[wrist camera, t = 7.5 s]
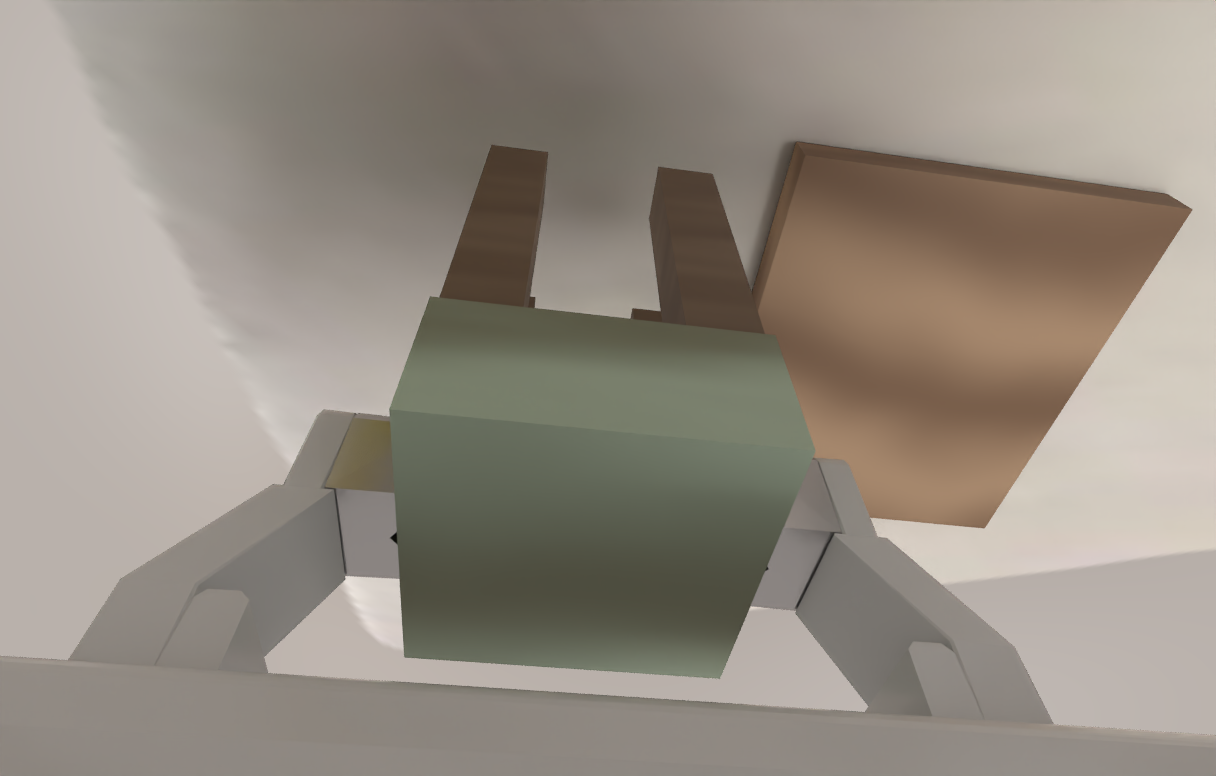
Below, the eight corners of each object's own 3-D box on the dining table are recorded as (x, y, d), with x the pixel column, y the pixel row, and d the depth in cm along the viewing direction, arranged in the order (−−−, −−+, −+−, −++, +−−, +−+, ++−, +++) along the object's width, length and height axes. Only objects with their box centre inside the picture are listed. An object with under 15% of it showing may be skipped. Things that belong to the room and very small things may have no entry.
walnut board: (796, 141, 22) (805, 155, 21) (1167, 194, 23) (1192, 209, 22) (696, 480, 30) (700, 501, 29) (972, 507, 31) (984, 528, 30)
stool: (486, 139, 15) (388, 409, 8) (718, 170, 16) (815, 450, 9) (479, 335, 18) (404, 657, 11) (673, 356, 19) (719, 678, 12)
